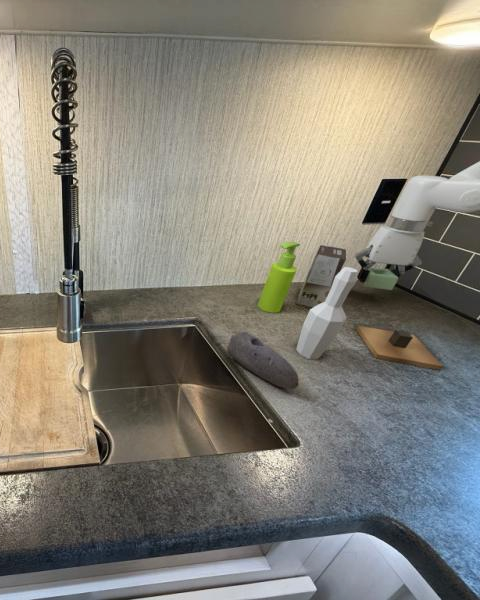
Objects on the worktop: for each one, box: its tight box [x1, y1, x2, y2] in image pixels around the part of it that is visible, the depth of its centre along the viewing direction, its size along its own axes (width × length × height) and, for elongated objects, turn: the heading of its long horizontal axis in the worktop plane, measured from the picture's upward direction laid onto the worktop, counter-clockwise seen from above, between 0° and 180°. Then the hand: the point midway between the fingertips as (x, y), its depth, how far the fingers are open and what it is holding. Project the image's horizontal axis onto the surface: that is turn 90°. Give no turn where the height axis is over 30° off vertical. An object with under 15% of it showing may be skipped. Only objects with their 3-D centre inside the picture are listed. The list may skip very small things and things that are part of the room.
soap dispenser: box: [257, 241, 301, 314], centre depth 86 cm, size 6×7×20 cm
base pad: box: [355, 325, 444, 371], centre depth 75 cm, size 12×12×4 cm
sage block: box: [357, 266, 400, 291], centre depth 94 cm, size 6×6×4 cm
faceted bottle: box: [295, 266, 359, 360], centre depth 68 cm, size 6×6×22 cm
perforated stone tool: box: [226, 331, 300, 390], centre depth 66 cm, size 15×5×7 cm, turn 30°
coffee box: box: [296, 244, 347, 309], centre depth 90 cm, size 9×6×16 cm
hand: (374, 281), depth 94 cm, fingers closed on sage block, 6 cm apart
